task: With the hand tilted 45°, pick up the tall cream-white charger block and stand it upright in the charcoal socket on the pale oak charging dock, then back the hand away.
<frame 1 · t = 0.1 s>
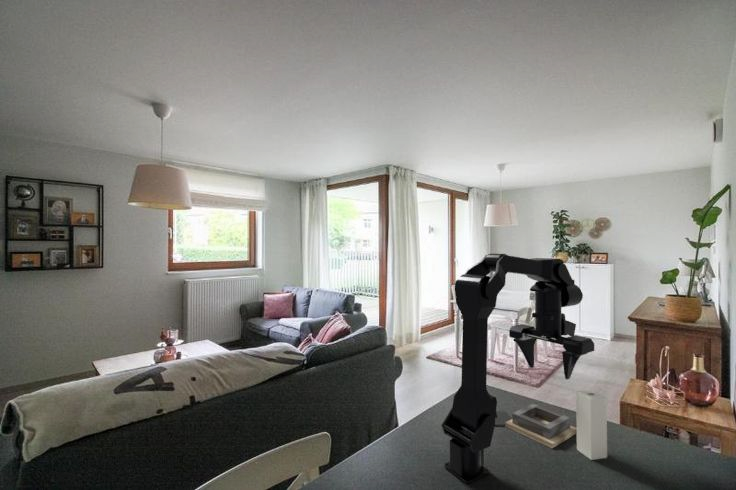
hand: (548, 372, 86), 15 cm above the table, tool pointing down, fingers open, 9 cm apart
charger: (591, 453, 78), on the table
dock: (540, 429, 88), on the table
smartphone: (483, 421, 93), on the table
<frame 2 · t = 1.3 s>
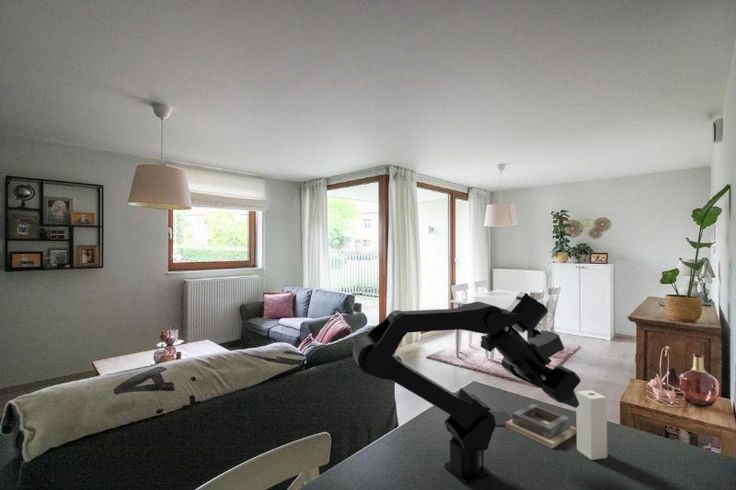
hand: (561, 396, 76), 13 cm above the table, tool tilted 45°, fingers open, 9 cm apart
nothing on the table moved.
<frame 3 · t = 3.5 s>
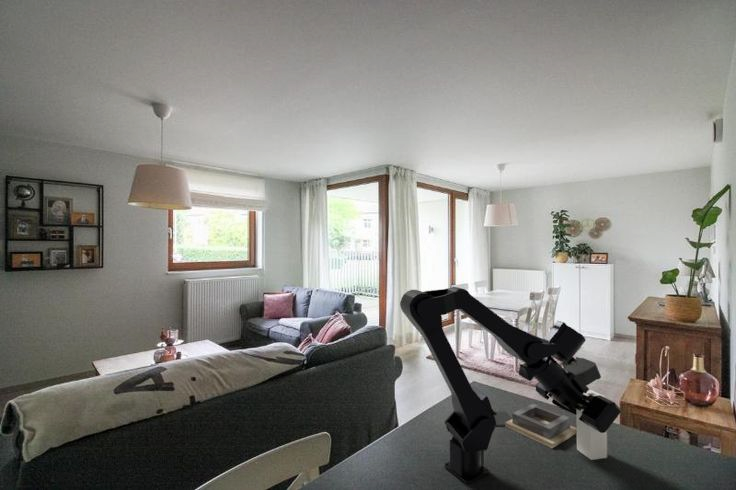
hand: (596, 422, 78), 7 cm above the table, tool tilted 45°, fingers closed on charger, 4 cm apart
charger: (591, 453, 78), on the table, touching gripper
everything else where it was.
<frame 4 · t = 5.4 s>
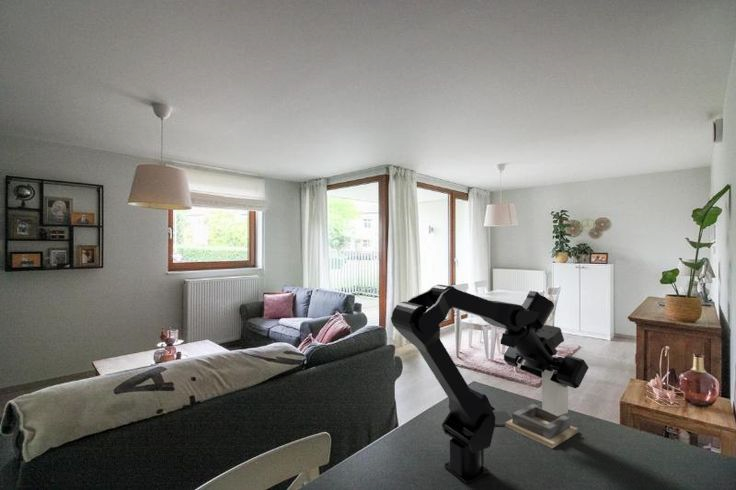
hand: (558, 382, 86), 12 cm above the table, tool tilted 45°, fingers closed on charger, 4 cm apart
charger: (554, 410, 85), point 6 cm above the table, touching gripper
everything else where it was.
when the fingers open (9 cm above the table, at t = 7.2 s): charger drops 1 cm, resting on dock.
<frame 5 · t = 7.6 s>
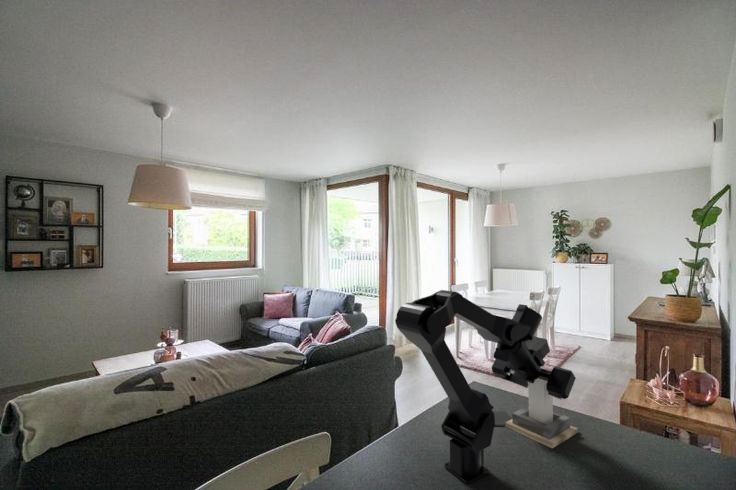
hand: (543, 391, 89), 9 cm above the table, tool tilted 45°, fingers open, 8 cm apart
charger: (540, 425, 88), point 1 cm above the table, touching dock
everything else where it was.
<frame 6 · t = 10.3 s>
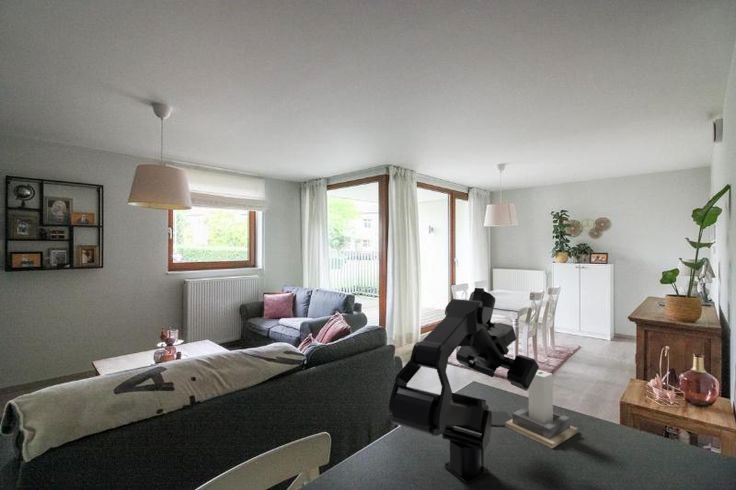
hand: (509, 381, 83), 14 cm above the table, tool tilted 45°, fingers open, 9 cm apart
nothing on the table moved.
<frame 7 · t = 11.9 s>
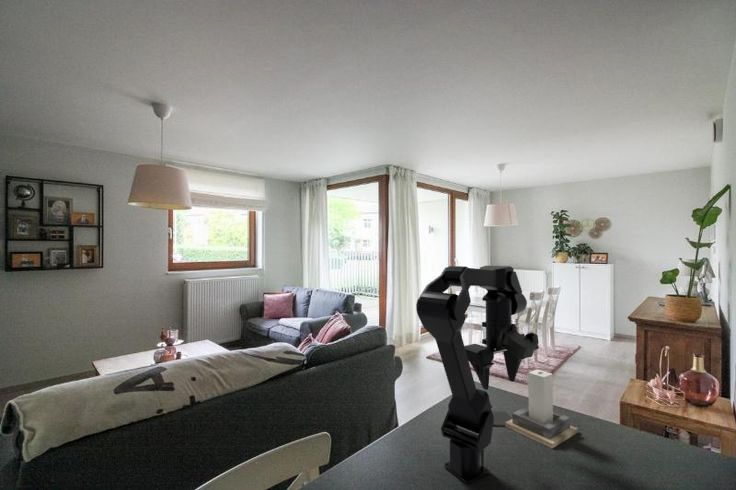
hand: (499, 385, 83), 13 cm above the table, tool pointing down, fingers open, 9 cm apart
nothing on the table moved.
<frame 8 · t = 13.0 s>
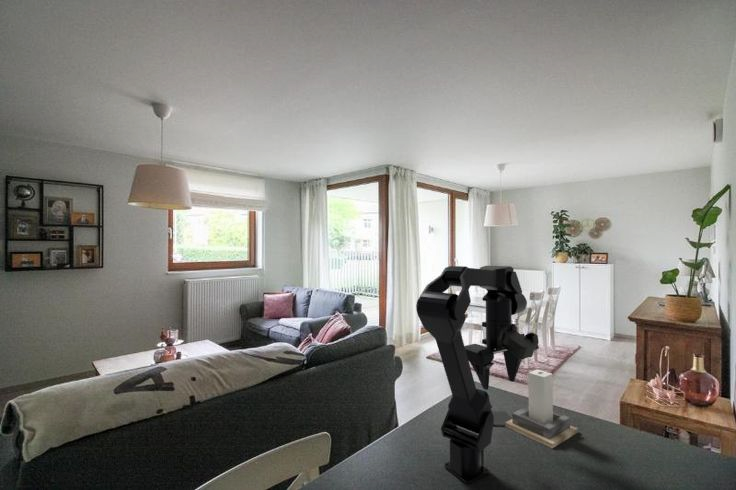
hand: (499, 385, 83), 13 cm above the table, tool pointing down, fingers open, 9 cm apart
nothing on the table moved.
at the end: charger 0.0 cm off-centre on the dock, point 1.0 cm above the dock's base; charger tilted 0°; the gripper is holding nothing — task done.
